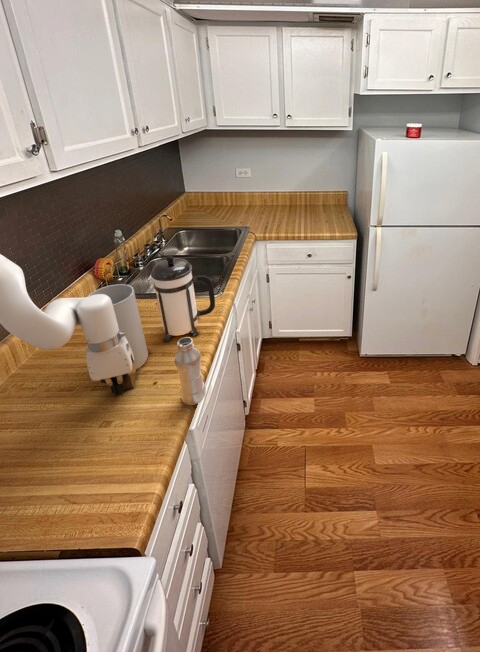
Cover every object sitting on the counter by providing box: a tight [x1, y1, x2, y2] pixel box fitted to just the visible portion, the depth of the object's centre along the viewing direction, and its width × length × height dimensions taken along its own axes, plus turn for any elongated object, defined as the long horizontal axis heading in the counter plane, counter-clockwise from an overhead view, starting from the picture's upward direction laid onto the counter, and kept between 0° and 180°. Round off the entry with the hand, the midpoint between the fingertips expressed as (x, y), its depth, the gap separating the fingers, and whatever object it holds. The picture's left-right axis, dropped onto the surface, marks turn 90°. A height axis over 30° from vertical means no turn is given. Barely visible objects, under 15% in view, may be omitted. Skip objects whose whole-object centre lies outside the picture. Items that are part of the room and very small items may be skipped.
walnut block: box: [115, 372, 137, 392], centre depth 97 cm, size 5×5×5 cm
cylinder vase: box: [86, 283, 149, 371], centre depth 101 cm, size 12×12×25 cm
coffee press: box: [147, 254, 216, 342], centre depth 116 cm, size 17×16×30 cm
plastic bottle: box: [174, 336, 207, 406], centre depth 89 cm, size 6×7×20 cm
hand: (119, 391), depth 93 cm, fingers closed
